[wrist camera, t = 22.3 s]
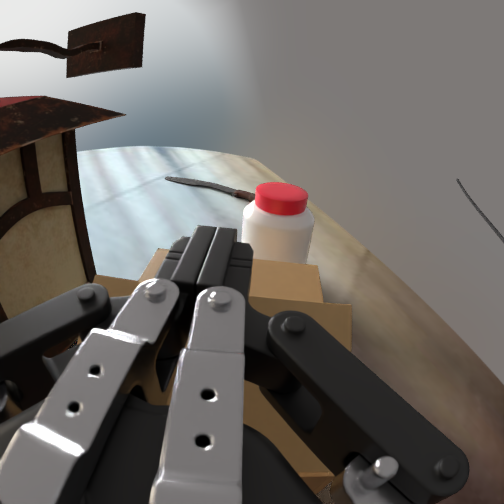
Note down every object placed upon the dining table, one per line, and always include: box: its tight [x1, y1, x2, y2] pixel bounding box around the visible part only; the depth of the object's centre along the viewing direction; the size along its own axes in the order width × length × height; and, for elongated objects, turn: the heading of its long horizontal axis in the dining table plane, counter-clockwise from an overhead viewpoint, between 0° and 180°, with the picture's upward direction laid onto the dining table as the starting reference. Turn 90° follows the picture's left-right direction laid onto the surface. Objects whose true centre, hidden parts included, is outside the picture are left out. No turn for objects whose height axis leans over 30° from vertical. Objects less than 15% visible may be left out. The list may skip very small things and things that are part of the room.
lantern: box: [0, 12, 146, 358], centre depth 22 cm, size 18×26×30 cm
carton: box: [138, 248, 335, 495], centre depth 19 cm, size 15×12×10 cm
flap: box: [77, 275, 352, 472], centre depth 12 cm, size 7×12×1 cm
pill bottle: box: [241, 182, 314, 264], centre depth 35 cm, size 8×8×11 cm
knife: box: [165, 177, 255, 202], centre depth 60 cm, size 28×1×5 cm
